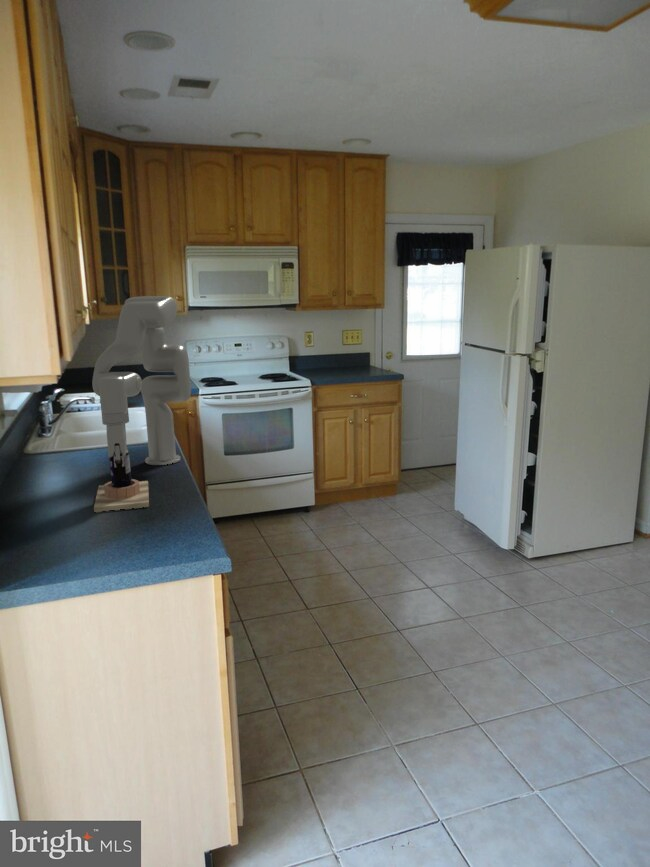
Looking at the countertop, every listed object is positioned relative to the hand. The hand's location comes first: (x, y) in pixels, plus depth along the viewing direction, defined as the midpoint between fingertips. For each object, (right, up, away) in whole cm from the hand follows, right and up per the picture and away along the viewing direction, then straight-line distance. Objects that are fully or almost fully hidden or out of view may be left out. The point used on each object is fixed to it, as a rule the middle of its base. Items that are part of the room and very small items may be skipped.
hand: (121, 476), depth 190 cm
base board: (0, -7, +1) cm, 7 cm away
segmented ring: (0, -5, +1) cm, 5 cm away
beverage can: (0, -4, +1) cm, 4 cm away
